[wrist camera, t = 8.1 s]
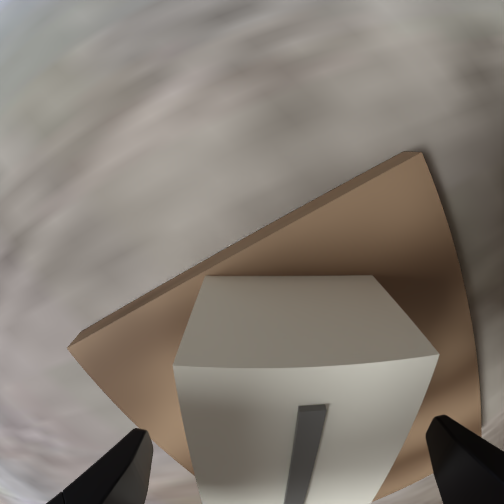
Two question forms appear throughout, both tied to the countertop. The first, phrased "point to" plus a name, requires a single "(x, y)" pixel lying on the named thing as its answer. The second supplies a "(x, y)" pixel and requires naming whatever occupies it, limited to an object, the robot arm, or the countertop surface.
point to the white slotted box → (298, 388)
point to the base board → (311, 264)
